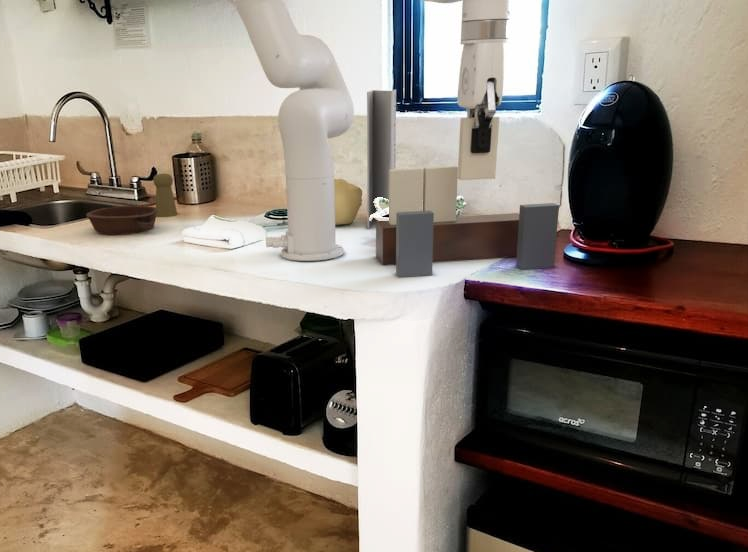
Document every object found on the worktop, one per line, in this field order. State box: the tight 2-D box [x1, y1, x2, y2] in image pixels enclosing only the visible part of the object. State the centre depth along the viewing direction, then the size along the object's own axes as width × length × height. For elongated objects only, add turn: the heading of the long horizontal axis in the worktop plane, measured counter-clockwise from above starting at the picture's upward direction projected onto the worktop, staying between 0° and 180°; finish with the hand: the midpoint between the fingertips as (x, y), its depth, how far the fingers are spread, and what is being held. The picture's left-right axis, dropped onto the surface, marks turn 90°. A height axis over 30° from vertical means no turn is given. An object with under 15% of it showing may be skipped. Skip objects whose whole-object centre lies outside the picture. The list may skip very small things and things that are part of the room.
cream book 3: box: [457, 116, 500, 181], centre depth 131 cm, size 6×2×10 cm, turn 94°
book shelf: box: [375, 212, 519, 266], centre depth 148 cm, size 28×7×7 cm, turn 94°
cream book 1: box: [389, 167, 423, 225], centre depth 144 cm, size 6×2×10 cm, turn 94°
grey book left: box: [395, 210, 434, 278], centre depth 136 cm, size 6×3×11 cm, turn 94°
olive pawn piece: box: [152, 173, 178, 218], centre depth 211 cm, size 6×6×11 cm
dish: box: [85, 205, 158, 235], centre depth 192 cm, size 18×22×5 cm
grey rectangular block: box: [515, 202, 560, 270], centre depth 136 cm, size 6×3×11 cm, turn 94°
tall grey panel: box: [366, 88, 397, 230], centre depth 180 cm, size 14×6×30 cm, turn 168°
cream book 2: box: [422, 165, 458, 222], centre depth 145 cm, size 6×2×10 cm, turn 94°
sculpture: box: [334, 178, 363, 226], centre depth 185 cm, size 12×12×11 cm
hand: (477, 151), depth 131 cm, fingers closed on cream book 3, 2 cm apart
